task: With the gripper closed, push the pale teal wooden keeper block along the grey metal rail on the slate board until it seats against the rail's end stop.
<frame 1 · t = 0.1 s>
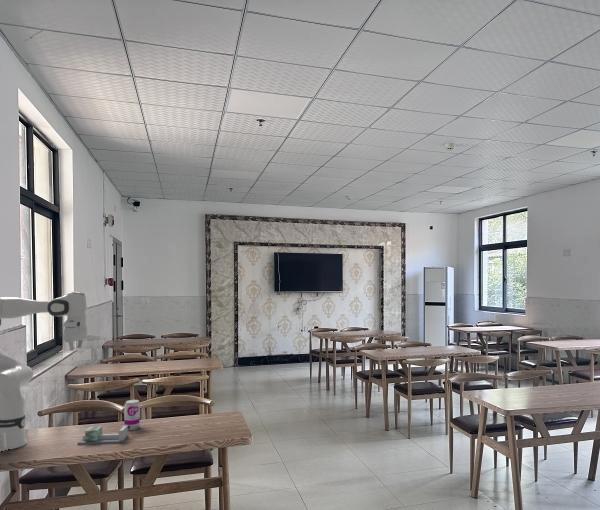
hand: (75, 349, 228), 48 cm above the table, fingers open, 8 cm apart
rail track: (103, 440, 228), on the table
supplement can: (131, 428, 248), on the table
keeper: (93, 433, 228), point 4 cm above the table, slide at 0.0 cm
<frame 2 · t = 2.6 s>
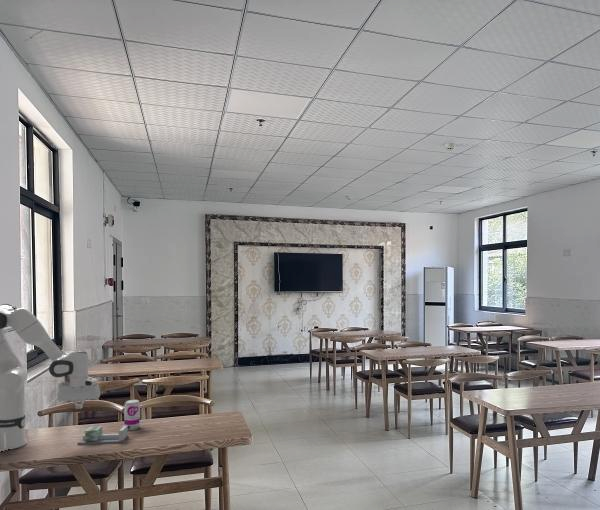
hand: (79, 408, 228), 17 cm above the table, fingers closed
nothing on the table moved.
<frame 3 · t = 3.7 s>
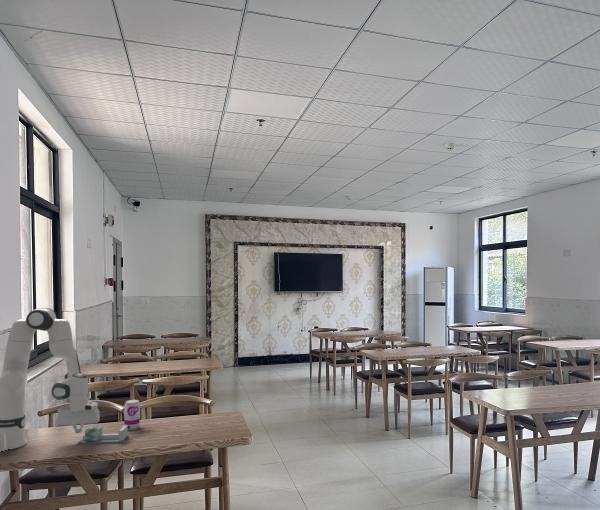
hand: (78, 432, 227), 4 cm above the table, fingers closed
nothing on the table moved.
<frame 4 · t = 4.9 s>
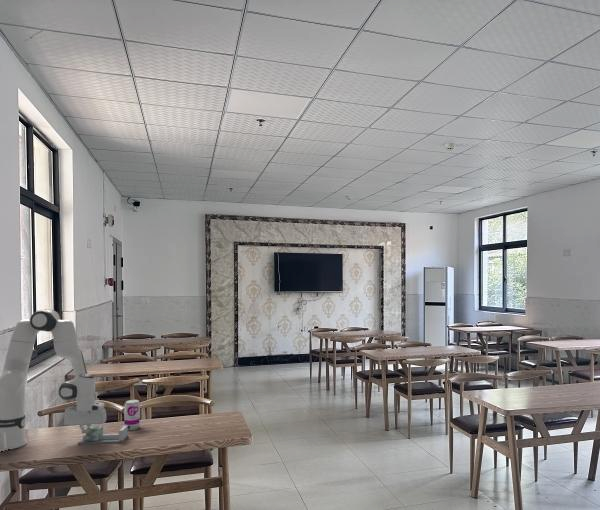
hand: (85, 432, 227), 4 cm above the table, fingers closed
keeper: (94, 433, 228), point 4 cm above the table, slide at 0.5 cm, touching gripper
everything else where it was.
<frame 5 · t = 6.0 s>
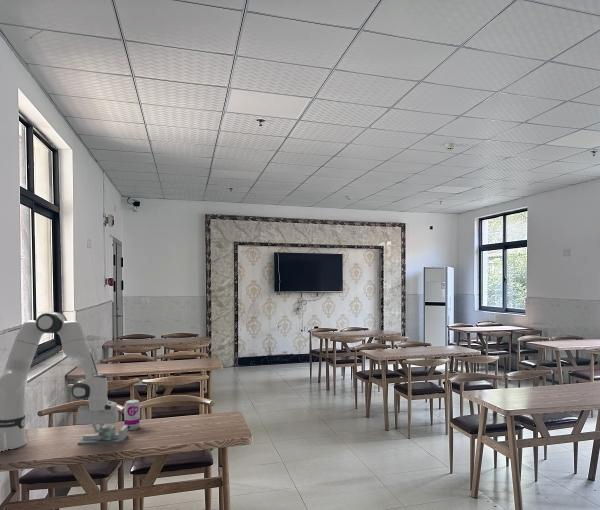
hand: (97, 432, 228), 4 cm above the table, fingers closed
keeper: (107, 432, 228), point 4 cm above the table, slide at 6.8 cm, touching gripper
everything else where it was.
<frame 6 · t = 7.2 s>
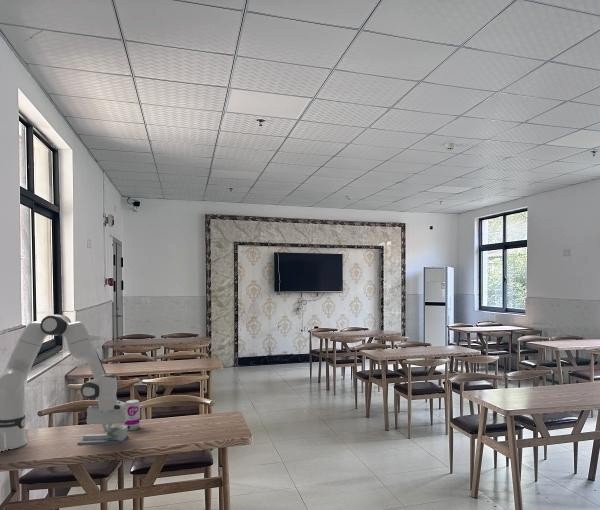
hand: (107, 432, 228), 4 cm above the table, fingers closed
keeper: (115, 432, 229), point 4 cm above the table, slide at 11.0 cm, touching gripper, rail track
everything else where it was.
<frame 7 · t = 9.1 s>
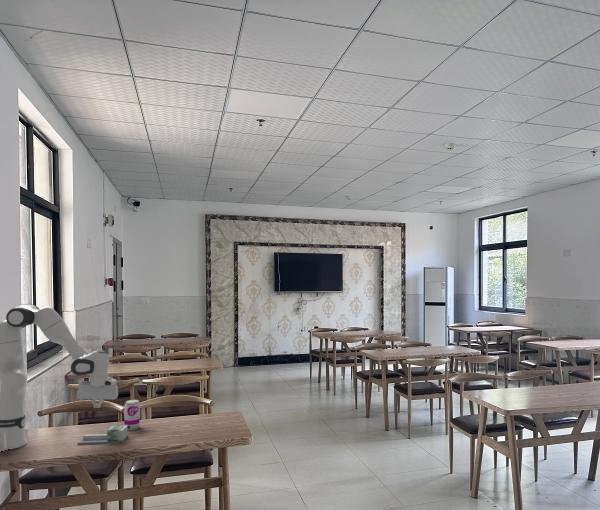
hand: (96, 407, 232), 16 cm above the table, fingers closed
keeper: (115, 432, 229), point 4 cm above the table, slide at 11.0 cm, touching rail track
everything else where it was.
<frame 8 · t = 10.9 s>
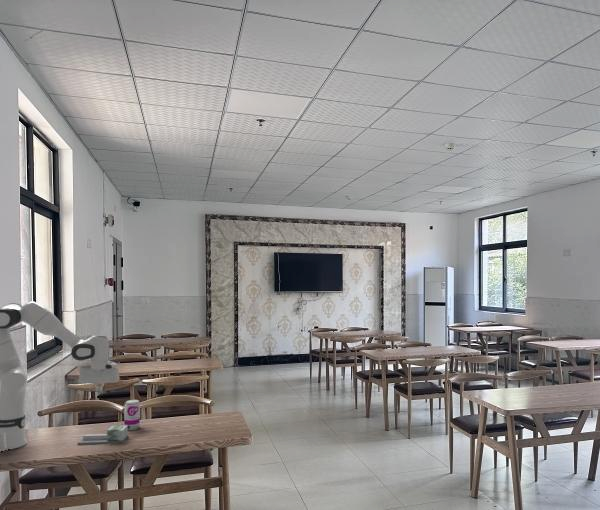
hand: (98, 391, 235), 24 cm above the table, fingers closed
nothing on the table moved.
at the end: keeper slide at 11.0 cm; the gripper is holding nothing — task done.
